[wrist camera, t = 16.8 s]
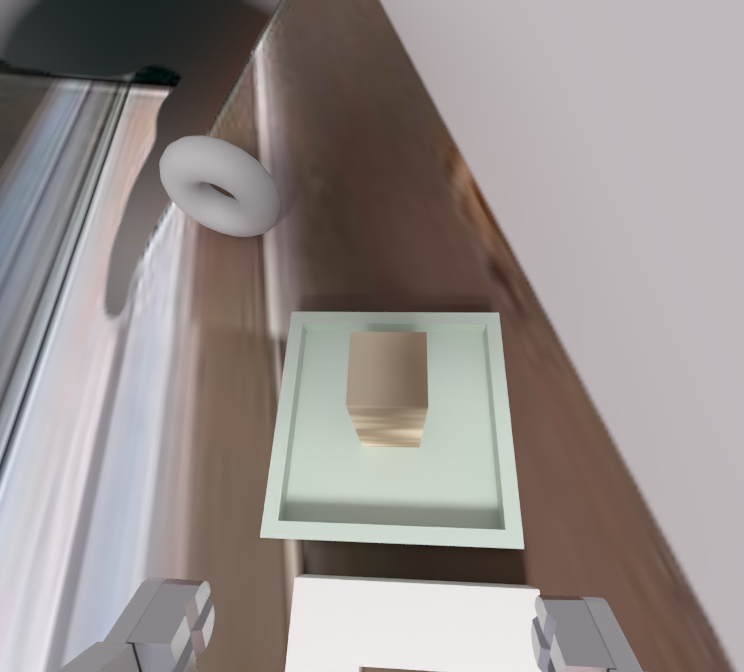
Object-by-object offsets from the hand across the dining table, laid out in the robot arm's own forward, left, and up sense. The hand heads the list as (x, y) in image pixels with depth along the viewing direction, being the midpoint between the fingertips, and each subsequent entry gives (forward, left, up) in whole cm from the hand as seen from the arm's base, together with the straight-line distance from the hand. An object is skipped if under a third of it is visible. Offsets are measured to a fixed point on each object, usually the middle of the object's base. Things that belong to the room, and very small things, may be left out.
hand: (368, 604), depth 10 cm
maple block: (0, +9, -17) cm, 20 cm away
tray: (0, +9, -18) cm, 20 cm away
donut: (-14, +27, -18) cm, 36 cm away
